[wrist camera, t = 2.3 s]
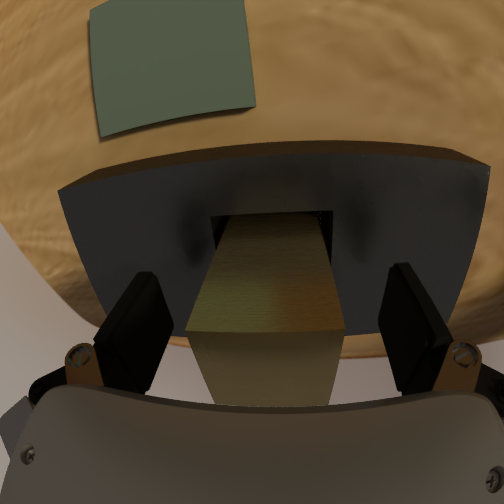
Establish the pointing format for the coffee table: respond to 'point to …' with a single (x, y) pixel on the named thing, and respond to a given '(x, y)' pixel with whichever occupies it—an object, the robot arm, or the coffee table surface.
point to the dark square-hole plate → (283, 200)
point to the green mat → (168, 60)
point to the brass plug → (269, 314)
